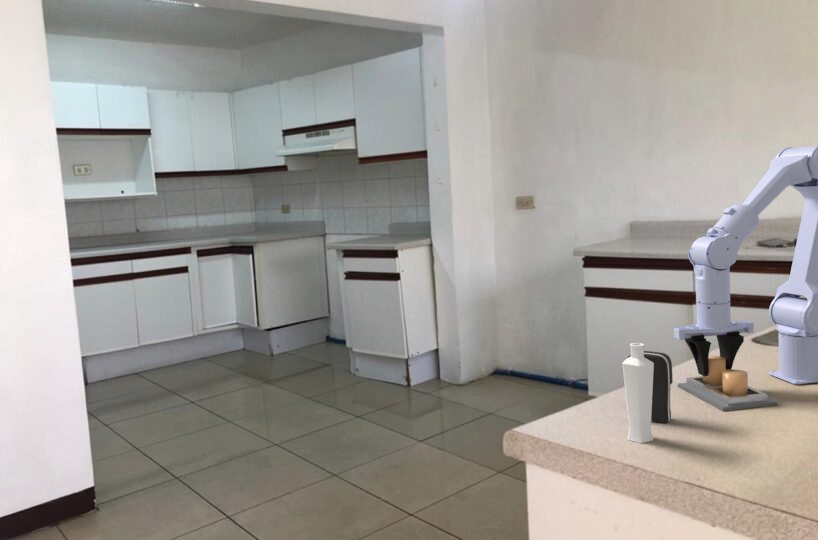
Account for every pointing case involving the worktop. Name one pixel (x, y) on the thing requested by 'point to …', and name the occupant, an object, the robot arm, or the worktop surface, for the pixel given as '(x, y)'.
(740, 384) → the frame
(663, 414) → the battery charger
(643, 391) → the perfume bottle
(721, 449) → the worktop surface
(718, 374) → the peach rounded capsule
